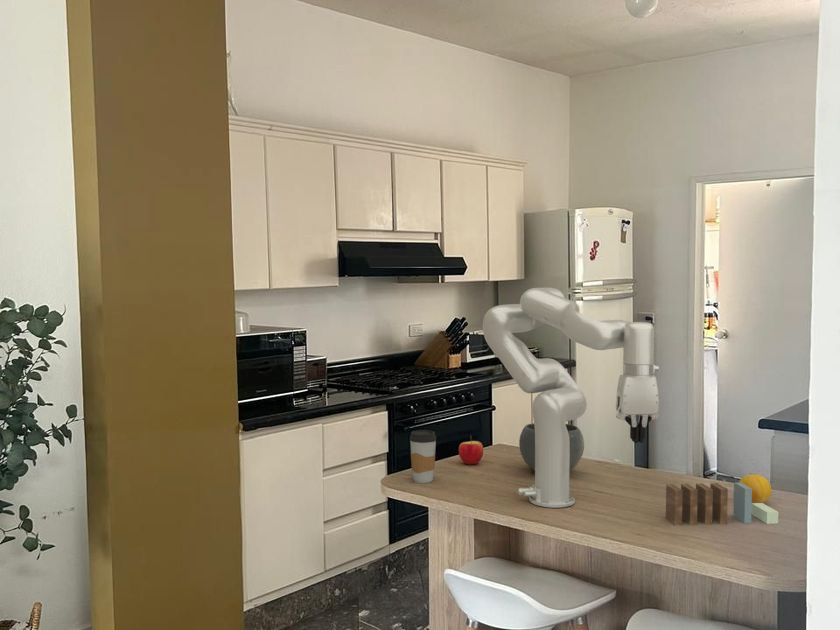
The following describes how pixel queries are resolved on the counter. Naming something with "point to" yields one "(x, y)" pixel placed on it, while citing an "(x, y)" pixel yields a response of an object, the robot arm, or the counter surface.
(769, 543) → the counter surface
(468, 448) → the apple
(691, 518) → the domino
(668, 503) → the domino
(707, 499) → the domino
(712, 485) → the domino
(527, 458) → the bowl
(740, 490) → the domino
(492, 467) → the counter surface
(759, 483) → the fruit
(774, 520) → the block
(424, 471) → the coffee cup
